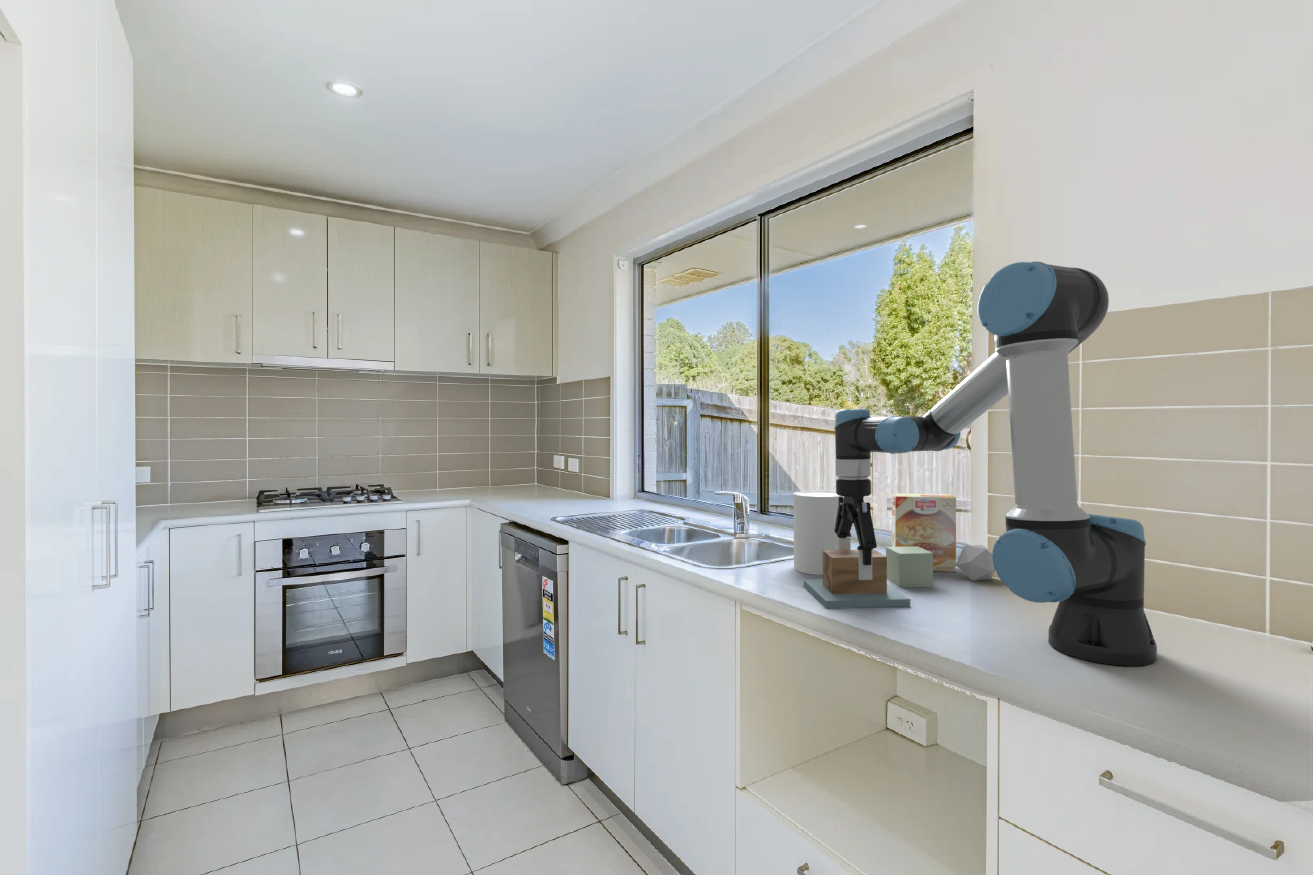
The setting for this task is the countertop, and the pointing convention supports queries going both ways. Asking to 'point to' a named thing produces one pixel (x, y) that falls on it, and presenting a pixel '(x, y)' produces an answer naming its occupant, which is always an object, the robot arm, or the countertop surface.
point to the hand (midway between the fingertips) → (854, 572)
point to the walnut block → (853, 573)
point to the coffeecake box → (926, 526)
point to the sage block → (909, 566)
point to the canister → (814, 529)
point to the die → (976, 562)
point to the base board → (854, 597)
